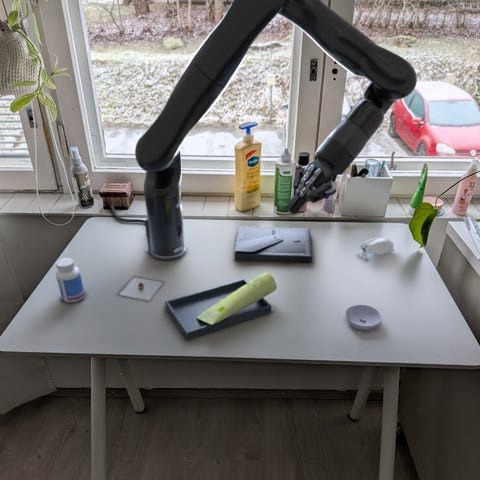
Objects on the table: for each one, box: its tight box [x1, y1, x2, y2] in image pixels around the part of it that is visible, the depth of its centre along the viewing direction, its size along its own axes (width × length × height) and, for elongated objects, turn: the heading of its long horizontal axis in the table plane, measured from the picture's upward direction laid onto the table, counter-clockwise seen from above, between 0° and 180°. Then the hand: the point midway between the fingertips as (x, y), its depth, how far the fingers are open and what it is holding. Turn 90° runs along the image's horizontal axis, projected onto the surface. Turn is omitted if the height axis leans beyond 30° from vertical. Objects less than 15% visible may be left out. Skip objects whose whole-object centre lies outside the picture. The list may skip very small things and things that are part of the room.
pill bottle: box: [55, 257, 86, 303], centre depth 119 cm, size 6×5×10 cm
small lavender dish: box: [345, 304, 383, 331], centre depth 114 cm, size 8×8×2 cm
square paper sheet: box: [118, 277, 163, 301], centre depth 124 cm, size 8×8×2 cm
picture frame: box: [234, 225, 313, 264], centre depth 140 cm, size 16×3×21 cm
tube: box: [197, 272, 278, 325], centre depth 115 cm, size 6×5×20 cm
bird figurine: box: [358, 237, 396, 261], centre depth 136 cm, size 5×7×10 cm
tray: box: [164, 277, 272, 340], centre depth 117 cm, size 21×13×2 cm, turn 118°
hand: (289, 211), depth 111 cm, fingers closed
